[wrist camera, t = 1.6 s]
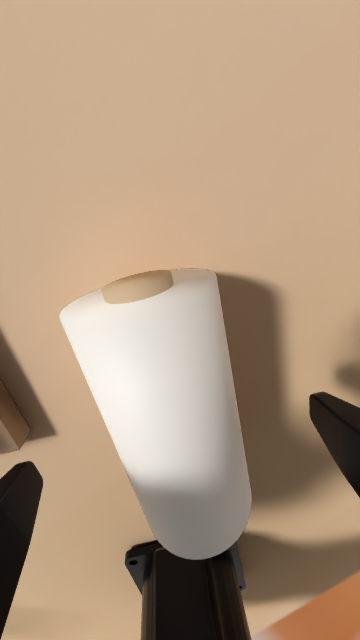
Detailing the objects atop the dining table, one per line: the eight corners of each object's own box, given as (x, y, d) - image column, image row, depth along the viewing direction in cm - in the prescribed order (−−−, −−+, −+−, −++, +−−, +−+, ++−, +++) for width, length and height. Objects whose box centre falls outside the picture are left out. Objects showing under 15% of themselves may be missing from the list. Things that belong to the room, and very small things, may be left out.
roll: (231, 442, 13) (272, 544, 9) (148, 465, 13) (149, 581, 8) (197, 253, 9) (239, 277, 5) (78, 282, 9) (22, 330, 5)
